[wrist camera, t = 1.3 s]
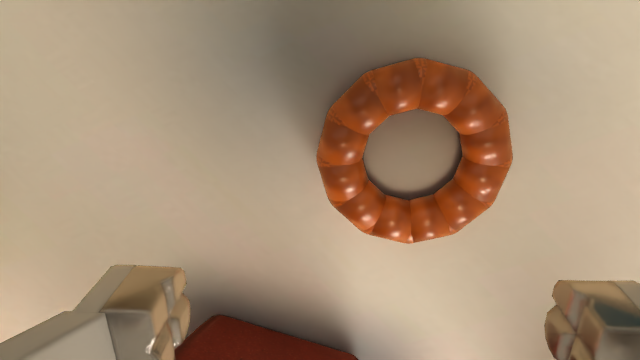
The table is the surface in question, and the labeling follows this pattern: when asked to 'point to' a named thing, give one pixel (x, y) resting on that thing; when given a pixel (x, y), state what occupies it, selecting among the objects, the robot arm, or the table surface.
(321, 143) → the ring
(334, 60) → the table surface
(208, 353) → the flower pot
